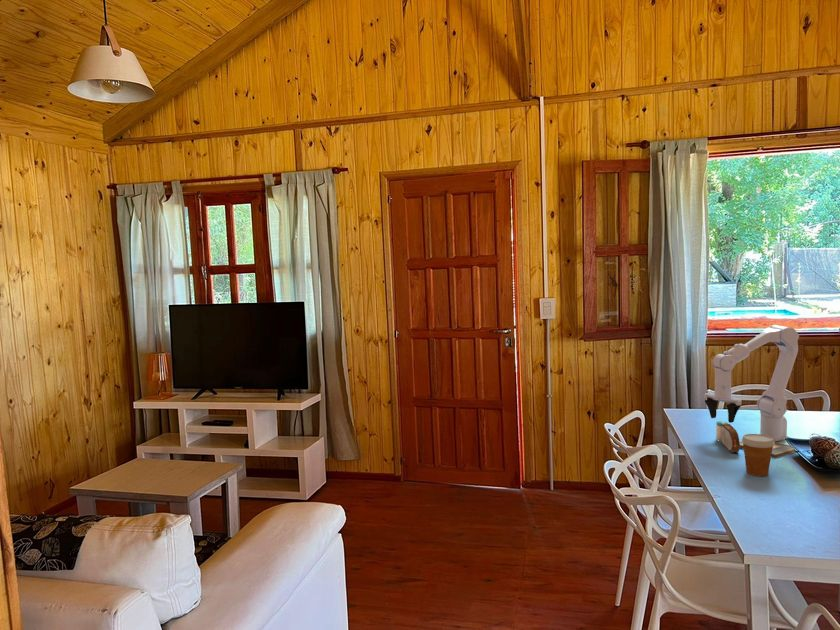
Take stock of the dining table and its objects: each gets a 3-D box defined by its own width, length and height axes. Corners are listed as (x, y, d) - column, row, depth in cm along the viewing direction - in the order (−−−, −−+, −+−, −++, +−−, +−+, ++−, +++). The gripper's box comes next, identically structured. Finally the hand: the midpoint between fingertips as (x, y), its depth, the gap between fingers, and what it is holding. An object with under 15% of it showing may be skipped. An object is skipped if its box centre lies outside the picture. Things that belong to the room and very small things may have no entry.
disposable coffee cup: (734, 470, 202) (734, 435, 201) (754, 466, 206) (755, 431, 205) (760, 480, 194) (761, 443, 193) (780, 475, 197) (781, 439, 196)
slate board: (756, 440, 234) (757, 437, 234) (798, 451, 220) (798, 447, 220) (733, 446, 228) (733, 443, 228) (775, 457, 214) (775, 454, 214)
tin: (740, 455, 218) (740, 432, 217) (730, 455, 218) (731, 432, 218) (728, 442, 232) (728, 421, 232) (719, 442, 233) (719, 421, 232)
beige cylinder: (720, 438, 238) (721, 420, 238) (729, 440, 235) (730, 423, 234) (713, 439, 236) (714, 422, 236) (723, 442, 233) (723, 424, 232)
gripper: (699, 383, 238) (698, 417, 239) (733, 390, 225) (732, 425, 227) (711, 381, 241) (710, 414, 243) (745, 387, 229) (744, 423, 230)
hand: (722, 419), depth 235 cm, fingers open, 7 cm apart
